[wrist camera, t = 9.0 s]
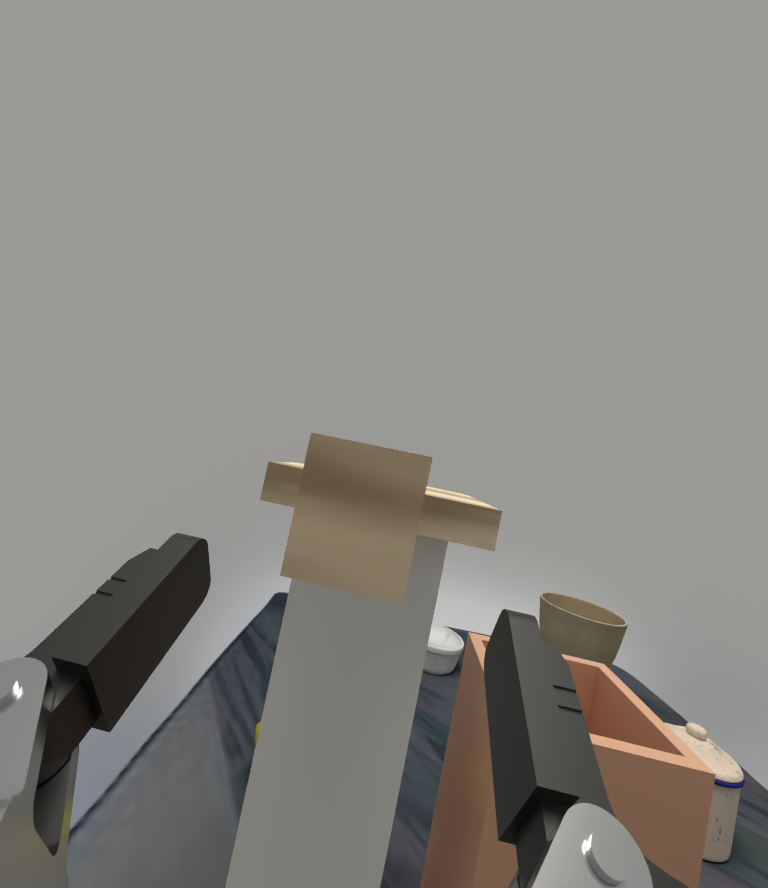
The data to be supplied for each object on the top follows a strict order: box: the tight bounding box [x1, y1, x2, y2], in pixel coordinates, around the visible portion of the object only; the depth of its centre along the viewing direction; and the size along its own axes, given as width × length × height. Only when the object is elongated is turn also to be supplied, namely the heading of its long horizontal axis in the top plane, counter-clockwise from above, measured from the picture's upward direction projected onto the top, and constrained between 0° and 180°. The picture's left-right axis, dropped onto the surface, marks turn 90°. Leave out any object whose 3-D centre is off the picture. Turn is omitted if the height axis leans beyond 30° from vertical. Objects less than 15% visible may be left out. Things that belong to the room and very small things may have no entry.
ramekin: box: [423, 623, 464, 675], centre depth 72 cm, size 11×11×5 cm
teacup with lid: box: [664, 722, 745, 862], centre depth 45 cm, size 12×9×12 cm
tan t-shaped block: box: [260, 433, 502, 604], centre depth 20 cm, size 22×12×4 cm, turn 177°
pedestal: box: [225, 534, 448, 888], centre depth 24 cm, size 10×10×32 cm
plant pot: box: [540, 592, 628, 669], centre depth 72 cm, size 15×15×16 cm
